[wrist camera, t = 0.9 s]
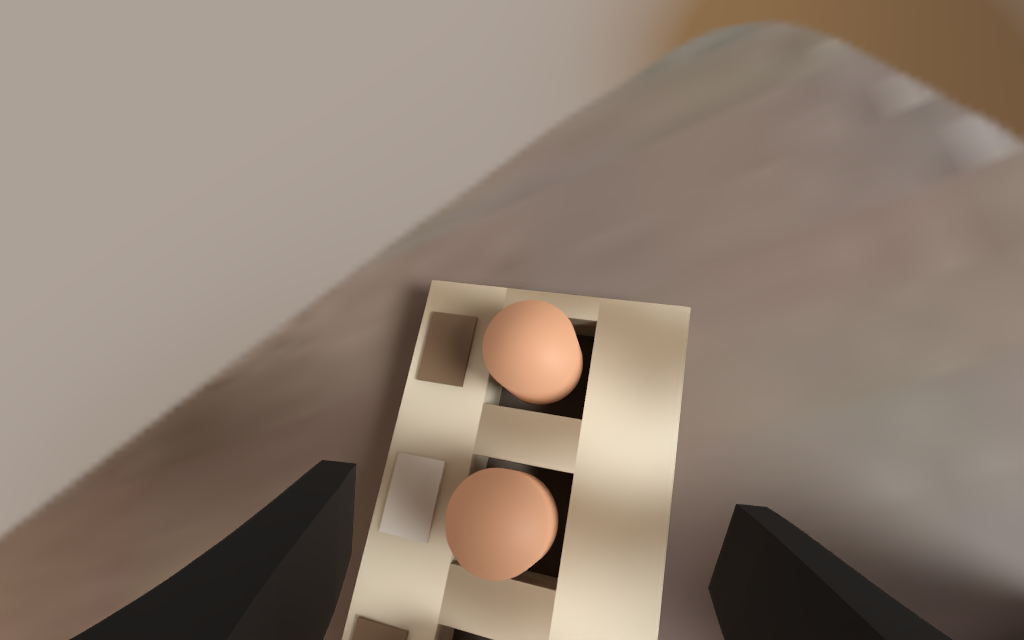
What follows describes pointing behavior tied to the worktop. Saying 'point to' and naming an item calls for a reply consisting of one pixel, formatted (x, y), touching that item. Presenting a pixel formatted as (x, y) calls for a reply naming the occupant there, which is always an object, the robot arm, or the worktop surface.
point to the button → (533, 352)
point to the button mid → (500, 523)
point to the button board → (536, 442)
